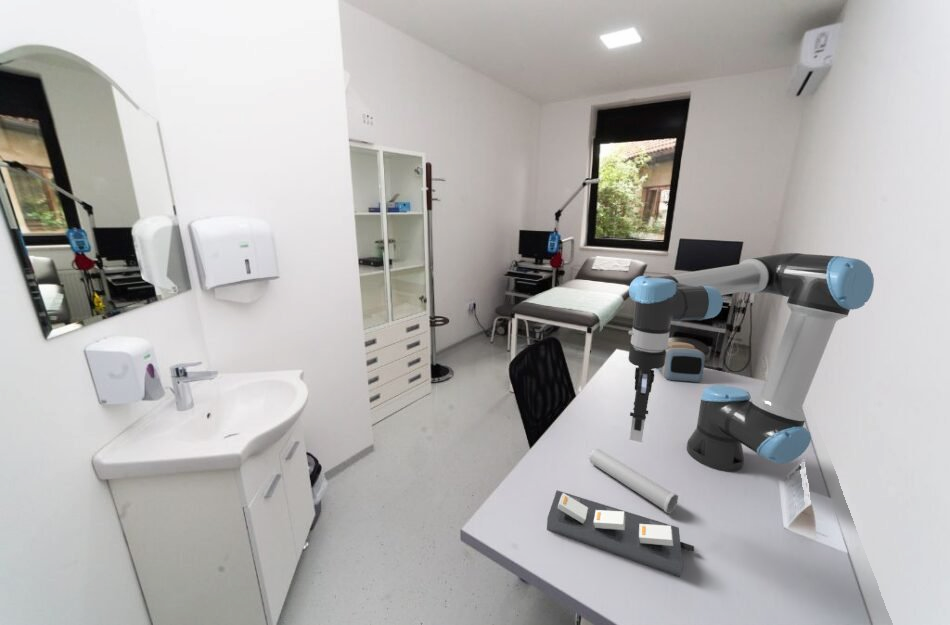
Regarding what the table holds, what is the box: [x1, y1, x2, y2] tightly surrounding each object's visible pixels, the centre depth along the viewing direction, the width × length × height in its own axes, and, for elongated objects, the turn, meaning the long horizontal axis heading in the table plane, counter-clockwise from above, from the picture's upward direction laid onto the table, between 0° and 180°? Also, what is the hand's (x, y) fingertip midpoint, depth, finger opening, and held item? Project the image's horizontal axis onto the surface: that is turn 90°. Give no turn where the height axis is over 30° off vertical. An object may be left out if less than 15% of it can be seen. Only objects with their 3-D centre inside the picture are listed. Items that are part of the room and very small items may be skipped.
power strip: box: [546, 490, 695, 578], centre depth 84 cm, size 31×10×4 cm, turn 65°
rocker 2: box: [594, 510, 626, 530], centre depth 83 cm, size 6×4×2 cm, turn 65°
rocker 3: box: [639, 524, 673, 546], centre depth 79 cm, size 6×4×2 cm, turn 65°
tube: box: [588, 448, 679, 515], centre depth 102 cm, size 5×5×25 cm
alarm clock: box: [657, 341, 706, 383], centre depth 173 cm, size 16×16×16 cm
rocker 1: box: [558, 492, 588, 523], centre depth 86 cm, size 6×4×2 cm, turn 65°
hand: (635, 439), depth 88 cm, fingers closed
